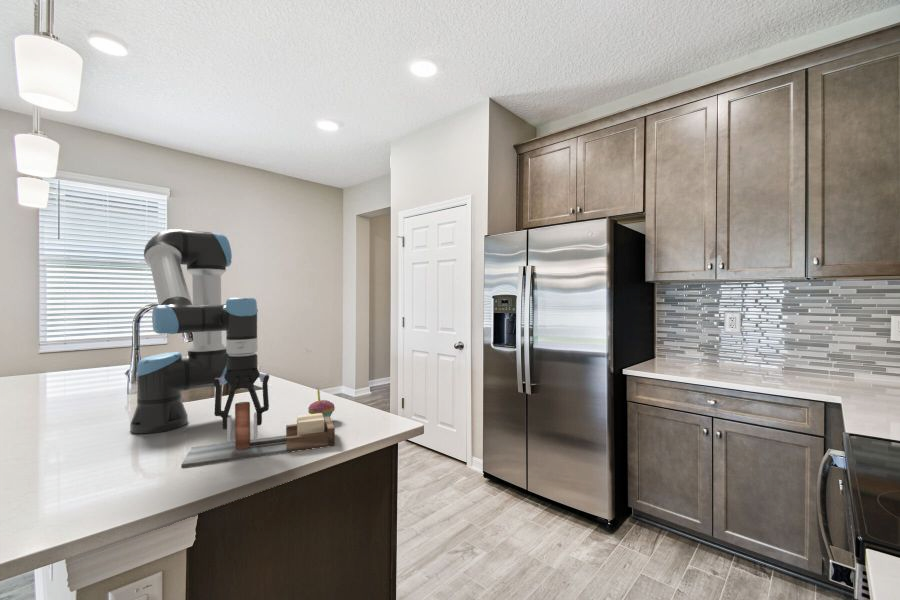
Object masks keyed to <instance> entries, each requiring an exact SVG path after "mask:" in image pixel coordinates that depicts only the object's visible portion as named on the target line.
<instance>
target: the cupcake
mask: <svg viewBox="0 0 900 600" xmlns="http://www.w3.org/2000/svg"><path fill="white" fill-rule="evenodd" d="M316 392H317V400H316V401H314V402H312V403H311V404H309V406H308V408H307V409H308V413H309V414H317V413H322V415H323V418H324V417H327V416H330V417H331V416H332V415H333V412H334V411H335V409H336V408H335V404H334V402H331V401H329V400H325V399H323V400H322V399H321V394H320V393H321V392H320V389H319V388H317V391H316Z"/></svg>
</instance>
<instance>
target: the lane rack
mask: <svg viewBox="0 0 900 600" xmlns="http://www.w3.org/2000/svg"><path fill="white" fill-rule="evenodd" d="M285 428H286V431H285V433H286V434H283V435H279V436H278V435H276V436H269V437H262V438H257V439H254V438H253V439H250V443H251V442H258V441H266V440H274V439H281V438H286V442H279V443H272V444H264V445H256V446H250V447H249V448H247V449H242V450H237V449H235V441H231V442H222V443H215V444H206V445H198V446H197V445H196V446H192V447H191V448H190V450H189V452H188V453H187V455H186V456H185V457H184V459H183V461H182V463H181V465H180V467H181V468H188V467H197V466H201V465H203V466H204V465H208V464H211V465H212V464H217V463H224V462H230V461H239V460H245V459H252V458H258V457H265V456H271V455H272V456H273V454H274V455H280V454H279V453H281V454H287V453H286V452H288V453H292V451H295V452H299V451H298V450H302V451H307V450H306V449H309V450H313V449H312V448H316V449H321V448H320V447H323V448H328V447H327V446H330V447H335V446H334V445H336V442H335V441H336V440H335V438H336V436H335V433H336V432H335V431H336V428H335V425H334V423H333V420H332V417H331V416H327V417H324V432H320V433H312V434H304V435H297V423H294V424H292V423H291V424H286V426H285ZM196 465H197V466H196Z"/></svg>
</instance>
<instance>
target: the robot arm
mask: <svg viewBox="0 0 900 600" xmlns="http://www.w3.org/2000/svg"><path fill="white" fill-rule="evenodd" d="M143 256H144V257H143V258H144V261H145V263H146V265H147V266H148V267H149V268H150V271H151V275H152V280H153V284H154V288H155V294H156V298H157V302H158V305H155V306H154V307H153V308H152V311H151V312H152V313H151V315H152V316H151V323H152V329H153V331H154V333H156V334H162V335H163V334H164V335H165V334H166V335H167V334H171V335H175V334H188V333H192V343H193V344H192V345H191V346H190V347H189V348H188V350H187V355H182V354H181V352H180V351H173V352H171V351H170V352H164V353H163V352H162V353H158V354H153V355H149V356H146V357H143V358H141V359H140V360H139V361H138V362H137V365H136V366H137V367H136V373H135V376H136V377H137V378H136V381H137V382H136V383H137V384H136V385H137V386H136V389H137V390H136V407H135V410H134V413H133V416H132V418H131V421H130V427H129V428H130V430H129V431H130V433H133V434H155V433H161V432H167V431H171V430H174V429H178V428H180V426H181V427H182V426H185V425H187V424H188V421H189V416H188V413H187V410H186V408H185V406H184V404H183V401H182V392H184V391H189V390H190V391H191V390H197V389H204V388H205V389H206V388H215V394H214V396H215V397H214V414H213V415H214V416H215V417H221V418H222V429H223V430H226V434H227V435H226V437H227V438H226V439H227V442H226V443H229V442H232V440H233V439H232V438H233V437H232V436H233V434H232V430H233V428H232V424H233V423H232V419H233V418H232V414H229V413H230V411H231V410H230V409H231V406H232V404H233V401H234V398H235V394H236V391H237V390H240V389H247V390H248V393H249V394H250V397H251V400H252V402H253V403H252V404H253V406H254V409H255V411H256V412H254V414H253V439H258V436H259V435H258V434H259V431H258V429H259V428H258V427H259V426H261V425H262V422H263V413H265V412H268V411H269V408H270V401H269V388H268V386H269V385H268V383H269V380H270V374H268V373H266V374H265V373H260V371H259V368H258V354H257V352H258V311H259V309H258V305H257V303H258V301H257V299H256V298H254V297H229V298H227V299H226V300H225V303H224V304H222V276H223V275H224V273H226V271H227V269H226V268H228V267H230V266H231V264H232V259H233V257H232V249H231V244H230V241H229V239H228V237H226V235H225V234H223V233H217V232H212V231H199V230H187V229H186V230H185V229H179V228H177V229H176V228H174V229H167V230H163V231H160V232H158V233H157V234H154V236H153V237H151V238H150V239H149V240H148V241H147V243H146V245H145V246H144V249H143ZM181 265H184V266H185V265H186V271H187V272H188V273H189V274H191V277H192V278H191V280H192V299H191V295H190V291H189V289H188V285H187V282H186V279H185V276H184V272H183V269H182V266H181ZM223 331H226V332H225V335H226V341H225V343H226V344H223V342H222V341H223V340H222V339H223V338H222V337H223V335H222V332H223ZM258 378H259V380H260V382H261V384H262V388H261V389H262V401H263V402H262V403H263V406H261V402H260V400H259V396H258V394H257V391H256V388H255V385H254V384H255V383H256V381H257V380H258ZM227 383H228V385H230V390H229V394H228V396H227V399H226V403H225V406H224V410H223V409H222V397H223V396H222V395H223V386H225V385H226V384H227Z"/></svg>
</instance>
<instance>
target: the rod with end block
mask: <svg viewBox="0 0 900 600" xmlns="http://www.w3.org/2000/svg"><path fill="white" fill-rule="evenodd" d="M296 422H297V423H296V424H297V435H304V434H312V433H320V432H324V418H323V415H322V413H317V414H310V413H309V414H301V415H299V414H298V415H297V417H296ZM234 428H235V429H234V430H235V431H234V440H235V441H234V442H235V449H237V450H242V449H247V448H249V447H250V446H256V445H264V444H272V443H279V442H286V438H281V439H274V440H266V441H258V442H251V443H250V440H251V402H250V401H240V402H236V403H235V404H234Z"/></svg>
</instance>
